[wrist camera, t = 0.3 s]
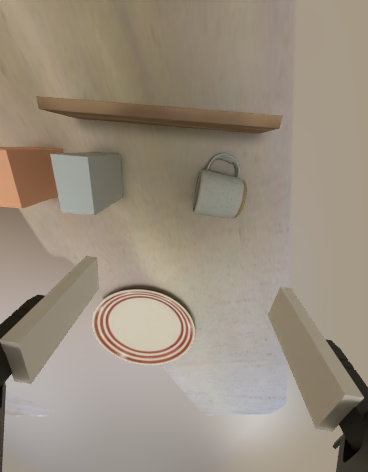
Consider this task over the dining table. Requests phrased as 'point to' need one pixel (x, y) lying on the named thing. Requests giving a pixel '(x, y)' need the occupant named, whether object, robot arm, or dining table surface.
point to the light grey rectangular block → (87, 181)
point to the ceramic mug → (220, 191)
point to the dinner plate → (143, 327)
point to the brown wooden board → (161, 115)
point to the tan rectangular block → (26, 176)
